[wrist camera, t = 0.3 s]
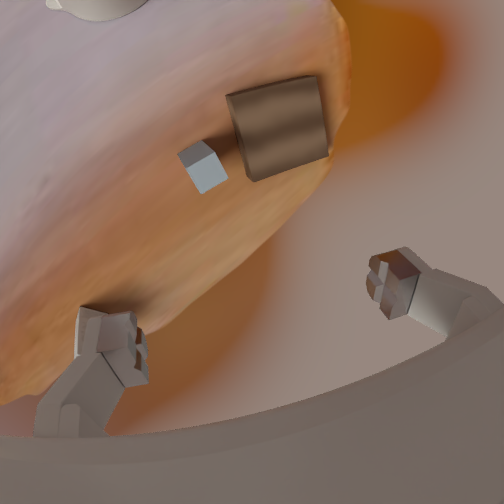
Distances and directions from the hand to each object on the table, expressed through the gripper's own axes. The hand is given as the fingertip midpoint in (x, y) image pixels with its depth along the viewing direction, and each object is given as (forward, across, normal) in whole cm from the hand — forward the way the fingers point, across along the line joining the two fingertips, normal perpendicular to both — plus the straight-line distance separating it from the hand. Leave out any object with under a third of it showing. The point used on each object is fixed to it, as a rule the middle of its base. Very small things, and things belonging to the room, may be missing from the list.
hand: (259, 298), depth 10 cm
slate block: (+39, 0, +6) cm, 40 cm away
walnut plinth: (+41, -14, +3) cm, 43 cm away
